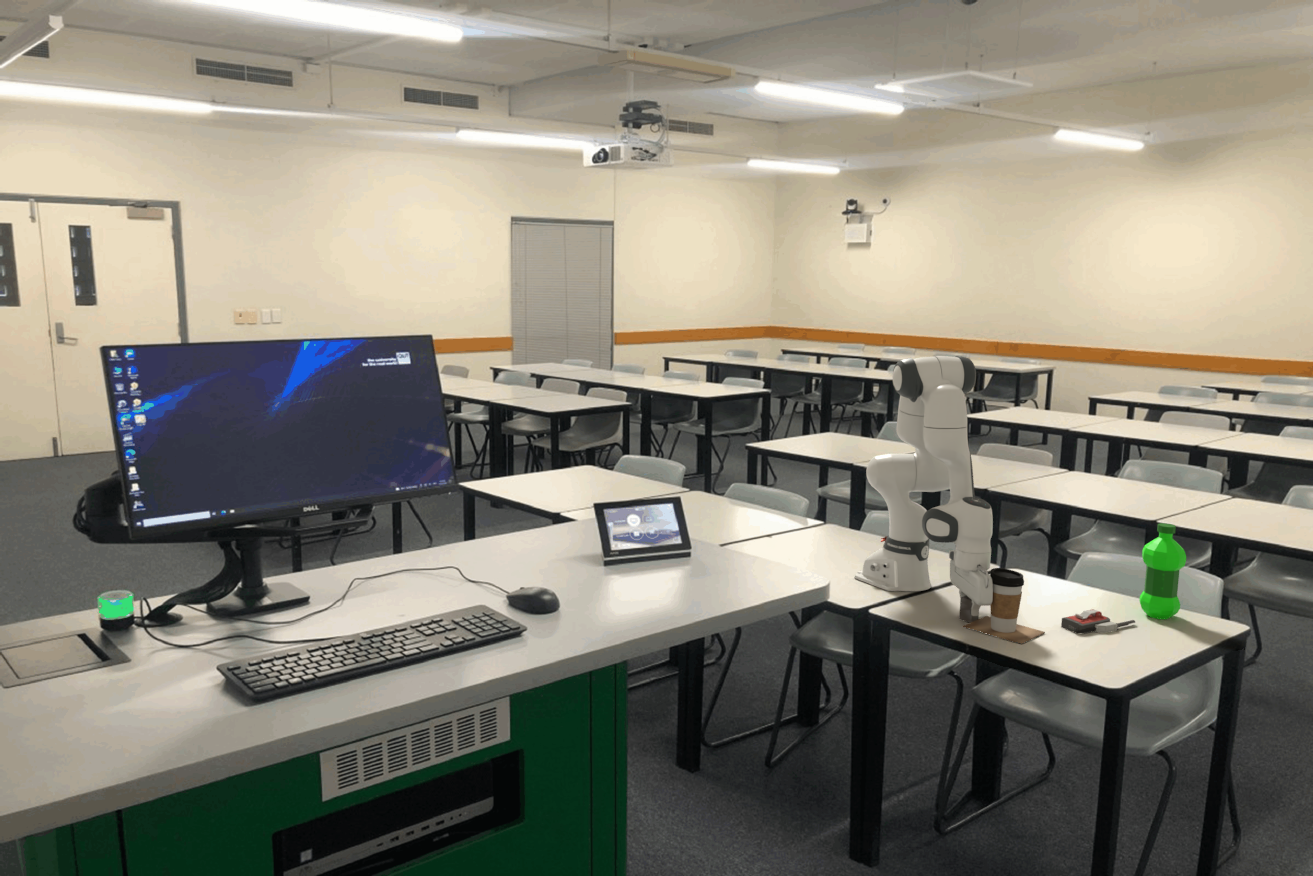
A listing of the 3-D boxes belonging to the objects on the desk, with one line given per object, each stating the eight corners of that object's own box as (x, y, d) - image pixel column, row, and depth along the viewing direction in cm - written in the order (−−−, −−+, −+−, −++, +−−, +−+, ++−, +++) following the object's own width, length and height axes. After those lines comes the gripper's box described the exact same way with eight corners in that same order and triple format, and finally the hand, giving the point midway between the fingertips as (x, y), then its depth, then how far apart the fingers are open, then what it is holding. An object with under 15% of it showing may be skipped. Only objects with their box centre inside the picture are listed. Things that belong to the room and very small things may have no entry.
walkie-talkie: (1084, 639, 241) (1137, 628, 249) (1085, 622, 240) (1139, 611, 249) (1055, 628, 248) (1108, 617, 257) (1056, 612, 248) (1109, 601, 257)
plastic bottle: (1141, 607, 264) (1149, 518, 260) (1184, 615, 258) (1193, 525, 254) (1132, 616, 257) (1140, 525, 253) (1175, 625, 250) (1184, 532, 246)
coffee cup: (995, 620, 251) (998, 565, 249) (1026, 629, 245) (1030, 572, 243) (979, 628, 245) (983, 571, 243) (1011, 637, 239) (1015, 579, 237)
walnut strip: (950, 623, 250) (951, 600, 249) (974, 613, 258) (976, 591, 257) (1021, 644, 235) (1023, 620, 234) (1044, 633, 243) (1046, 609, 242)
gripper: (1001, 571, 240) (997, 624, 242) (969, 549, 260) (966, 598, 262) (976, 571, 239) (973, 625, 242) (946, 549, 260) (943, 598, 262)
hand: (969, 611), depth 252 cm, fingers closed on walnut strip, 5 cm apart
